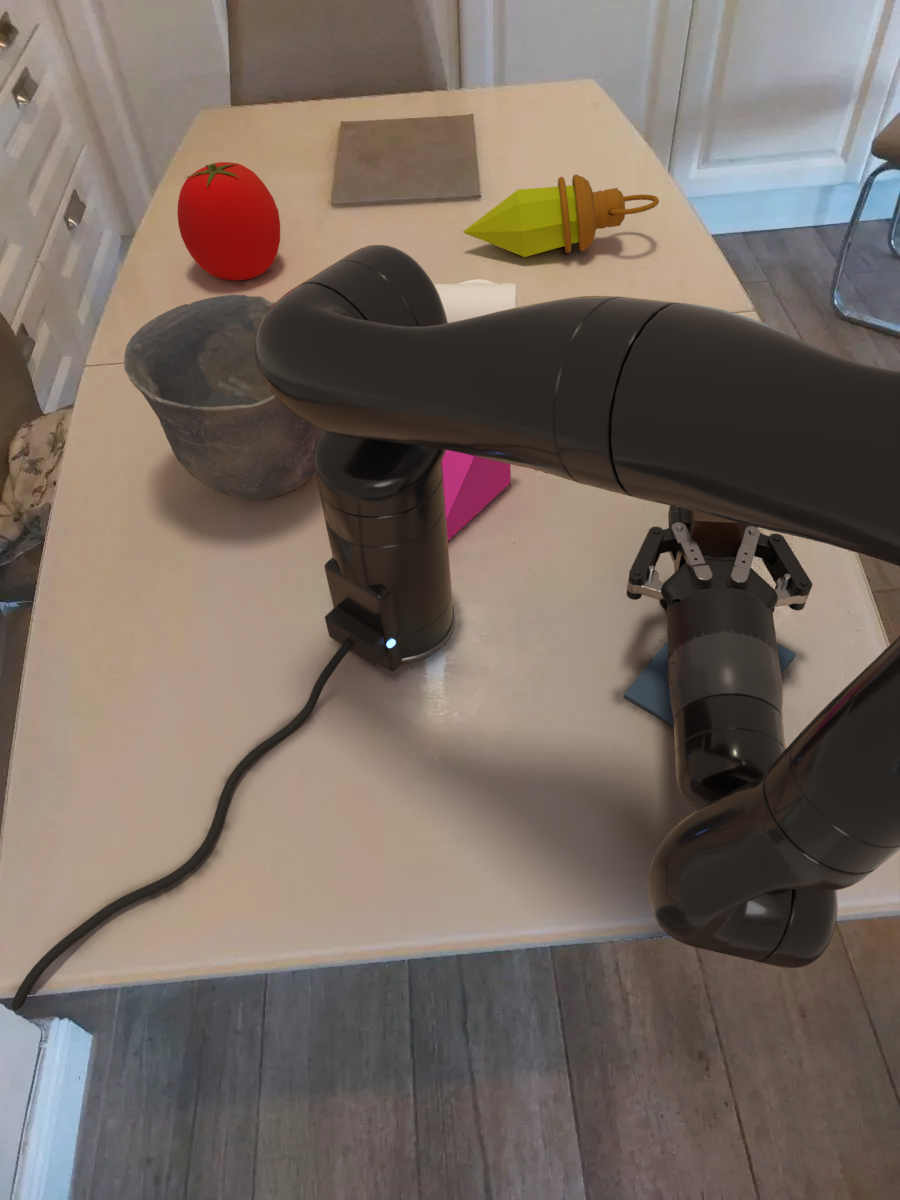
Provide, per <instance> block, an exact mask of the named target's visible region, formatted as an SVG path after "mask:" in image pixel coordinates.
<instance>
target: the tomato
mask: <svg viewBox="0 0 900 1200" xmlns="http://www.w3.org/2000/svg"><path fill="white" fill-rule="evenodd" d="M184 179H185V180H184V183H183V184H182V187H181V188H180V190H179V196H178V200H177V213H176V214H177V223H178V224H177V225H178V229H179V233H180V237H181V239H182V241H183V243H184V246H185V248H186V249H187V252H188V253H189V255H190V256H191V258H192V259H193V260H194V261H195V262H196V264H197V265H198V266H199V267H200V268H201V269H202V270H203V271H205V272H206V273H207V274H209V275H211V276H212V277H215V278H217V279H220V280H227V281H246V280H250V279H254V278H256V277H258V276H260V275H262V274H264V273H266V271H267V270H268V269H269V268H270V267H271V266H272V265H273V263H274V261H275V260H276V258H277V255H278V252H279V248H280V242H281V219H280V213H279V208H278V206H277V204H276V201H275V198H274V197H273V195H272V194H271V192H270V190H269V189H268V187H267V186H266V184H265V183H264V182H263V180H262V179H261V177H259V176H258V175H257V174H256V173H255V172H254V171H253V170H252V169H249V168H248V167H246V165H245V166H244V165H243V164H241V163H238V162H230V161H228V162H227V161H219V162H212V163H210V164H205V166H203V167H201V168H199V169H197V170H196V171H195V172H193V173H191V174H190V175H189V176H185V177H184Z"/></svg>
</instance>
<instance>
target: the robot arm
mask: <svg viewBox="0 0 900 1200" xmlns="http://www.w3.org/2000/svg"><path fill="white" fill-rule="evenodd" d="M434 284H435V283H434V282H433V280H432V278H431V277H430V275H428V273H427V272H426V271H425V269H424V268H423V267H422V266H421V265H420V264H419V262H417V261H416V260H415V259H414V258H413V257H412V256H410V255H409V254H407V253H406V252H404V251H402V250H401V249H398V248H396V247H393V246H390V245H385V244H372V245H366V246H363V247H360V248H358V249H356V250H355V251H352V252H351V253H349V254H347V255H346V256H344V257H343V258H341V259H339V260H338V261H336V262H334V263H332V264H330V265H329V266H327V267H326V268H324V269H323V270H321V271H319V272H318V273H316V274H314V275H313V276H311V277H310V278H308V279H306V280H305V281H303V282H302V283H300V284H298V285H296V286H295V287H293V288H291V289H290V290H289V291H287V292H286V293H285V294H284V295H283V296H281V297H280V298H279V299H278V300H276V302H274V303H275V304H274V305H273V306H272V307H271V308H270V309H269V310H268V312H267V313H266V314H265V315H264V317H263V319H262V320H261V322H260V325H259V328H258V331H257V333H256V340H255V355H256V362H257V366H258V369H259V371H260V374H261V376H262V378H263V380H264V382H265V384H266V385H267V386H268V388H269V389H270V391H271V392H272V393H273V395H274V396H275V397H276V398H277V399H278V400H279V401H280V402H281V403H282V404H283V405H284V406H285V407H286V408H287V409H289V410H290V411H291V412H292V413H293V414H295V415H296V416H297V417H299V418H300V419H302V420H304V421H305V422H307V423H308V424H310V425H312V426H314V427H317V428H319V429H321V430H322V431H321V433H320V434H319V436H318V438H317V441H316V443H315V447H314V452H313V465H314V471H315V473H314V476H315V481H316V484H317V485H316V486H317V489H318V494H319V497H320V502H321V507H322V511H323V517H324V523H325V528H326V531H327V537H328V540H329V546H330V550H331V556H332V557H331V558H330V559H329V560H328V561H327V562H325V564H324V572H325V576H326V580H327V581H326V582H327V584H328V589H329V594H330V598H331V599H330V600H331V603H332V607H333V609H331V610H330V611H329V612H328V613H327V614H326V615H325V616H324V620H325V623H326V628H327V632H328V637H329V638H331V639H332V640H334V641H335V642H337V643H338V644H340V647H339V648H338V649H337V651H336V652H335V654H333V656H332V657H331V658H330V660H329V662H328V663H327V664H326V666H325V667H324V669H323V670H322V671H321V673H320V675H319V676H318V678H317V679H316V681H315V683H314V685H313V688H312V690H311V692H310V695H309V697H308V700H307V702H306V703H305V705H304V707H302V709H301V710H300V711H299V712H298V714H297V715H295V717H294V718H293V719H292V720H291V721H290V722H289V723H288V724H286V725H285V726H284V727H283V728H281V729H280V730H279V731H277V732H276V733H274V734H273V735H272V736H270V737H268V738H267V739H266V740H264V741H263V742H261V743H259V744H258V745H257V746H256V747H254V748H253V749H252V750H250V751H249V753H247V755H245V756H244V757H243V759H241V761H240V762H238V764H237V765H236V767H234V769H233V770H232V772H231V773H230V775H229V777H228V779H227V780H226V781H225V784H224V786H223V788H222V791H221V794H220V796H219V799H218V803H217V804H216V805H217V806H216V809H215V812H214V816H213V818H212V822H211V825H210V828H209V830H208V833H207V835H206V836H205V838H204V840H203V842H202V843H201V845H200V846H199V848H198V849H197V850H196V851H195V853H194V854H193V855H192V856H191V857H190V858H189V859H188V860H186V862H185V863H183V864H182V865H181V866H179V867H178V868H177V869H176V870H174V871H172V872H171V873H169V874H167V875H166V876H164V877H162V878H160V879H158V880H156V881H154V882H151V883H149V884H146V885H145V886H142V887H140V888H138V889H136V890H135V889H134V890H133V891H131V892H129V893H127V894H125V895H123V896H121V897H119V898H118V899H116V900H114V901H112V902H111V903H109V904H107V905H105V906H104V907H103V908H101V909H100V910H99V911H97V912H96V913H95V914H93V915H92V916H90V917H89V918H88V919H87V920H85V921H84V922H83V923H81V924H80V925H79V926H77V927H75V929H73V930H72V931H71V932H70V933H68V934H67V935H66V936H65V937H63V938H62V939H61V940H59V941H58V942H57V944H55V945H54V946H53V947H51V948H50V949H49V950H48V951H47V952H46V953H45V954H44V955H42V957H41V958H40V959H39V960H38V961H37V962H36V964H35V965H34V966H33V967H32V968H31V969H30V971H29V972H28V974H27V975H26V976H25V978H24V979H23V981H22V982H21V984H20V986H19V988H18V989H17V991H16V993H15V995H14V997H13V1000H12V1003H11V1010H12V1011H18V1010H20V1009H21V1008H22V1007H23V1005H25V1002H26V999H27V998H28V996H29V994H30V993H31V990H32V989H33V987H34V986H35V984H36V982H37V981H38V980H39V978H40V977H41V976H42V975H43V974H44V972H45V971H46V970H48V968H49V967H50V966H51V965H52V964H53V963H54V962H55V961H56V960H57V959H58V958H59V957H60V956H62V954H64V953H65V952H66V951H67V950H68V949H70V948H71V947H72V946H73V945H74V944H76V943H77V942H78V941H79V940H81V939H82V938H83V937H84V936H86V935H87V934H88V933H89V932H91V931H93V930H94V929H95V928H96V927H98V926H99V925H100V924H102V923H103V922H104V921H106V920H107V919H108V918H110V917H111V916H112V915H114V914H117V912H119V911H121V910H123V909H124V908H126V907H129V906H130V905H132V904H134V903H136V902H138V901H140V900H143V899H145V898H147V897H149V896H152V895H154V894H156V893H158V892H161V891H163V890H165V889H166V888H168V887H170V886H172V885H174V884H175V883H178V882H179V881H180V880H183V878H185V877H186V876H187V875H188V874H190V873H191V872H192V871H193V870H194V869H196V867H197V866H198V865H200V864H201V862H203V860H204V859H205V858H206V856H207V855H208V854H209V852H210V851H211V849H212V848H213V846H214V844H215V843H216V840H217V838H218V836H219V834H220V831H221V829H222V826H223V823H224V820H225V816H226V812H227V809H228V806H229V802H230V799H231V796H232V794H233V791H234V789H235V787H236V785H237V783H238V781H239V780H240V779H241V777H242V776H243V774H244V773H245V771H246V770H247V769H248V768H249V767H250V766H251V765H252V764H253V763H254V762H255V761H256V760H257V759H258V758H259V757H261V756H262V755H263V754H265V753H266V752H267V751H269V750H270V749H272V748H273V747H274V746H276V745H277V744H279V743H280V742H281V741H283V740H284V739H286V738H287V737H289V736H290V735H291V734H292V733H293V732H295V731H296V730H297V729H298V728H299V727H300V726H301V725H302V724H303V723H304V722H305V721H306V720H307V718H308V717H309V716H310V715H311V714H312V712H313V711H314V709H315V707H316V705H317V703H318V701H319V699H320V697H321V693H322V692H323V689H324V687H325V685H326V684H327V682H328V681H329V679H330V677H331V676H332V674H333V673H334V672H335V670H336V669H337V667H338V666H339V665H340V663H341V662H342V661H343V659H344V658H345V657H346V655H347V654H348V653H349V651H351V652H352V653H353V654H355V655H356V656H357V657H359V658H361V659H362V660H364V661H365V662H367V663H368V664H370V665H371V666H373V667H377V666H378V665H380V666H381V667H383V668H384V669H386V670H388V671H389V672H395V671H396V670H397V669H398V668H399V667H401V666H403V665H406V664H413V663H416V662H420V661H423V660H424V659H427V658H428V657H431V656H432V655H434V654H436V653H437V652H438V651H439V650H440V649H442V648H443V647H444V646H445V645H446V643H447V642H448V640H449V639H450V638H451V636H452V633H453V630H454V627H455V622H456V621H455V618H456V617H455V609H454V604H453V592H452V580H451V568H450V567H451V565H450V554H449V552H450V551H449V541H448V538H447V524H446V511H445V496H444V482H443V465H442V459H443V457H444V454H445V452H446V450H449V451H454V452H458V453H463V454H467V455H471V456H476V457H480V458H485V459H489V460H494V461H498V462H503V463H508V464H511V466H517V467H521V468H525V469H531V470H534V471H538V472H541V473H545V474H549V475H552V476H555V477H559V478H561V479H565V480H569V481H571V482H575V483H577V484H582V485H585V486H588V487H592V488H596V489H600V490H601V489H602V490H605V491H608V492H612V493H616V494H620V495H624V496H627V497H631V498H635V499H638V500H642V501H646V502H647V501H648V502H652V503H657V504H661V505H667V506H669V507H668V508H669V509H668V514H667V522H668V527H667V528H662V527H660V526H652V527H650V528H649V529H648V532H647V534H646V535H645V538H644V540H643V542H642V544H641V546H640V549H639V551H638V553H637V555H636V557H635V559H634V561H633V563H632V566H631V567H630V569H629V571H628V578H627V585H626V586H627V587H626V594H625V595H626V597H628V598H629V599H631V600H632V601H633V600H634V601H636V600H639V599H641V598H642V596H646V597H647V598H648V597H649V598H652V599H655V600H658V601H659V604H660V606H661V608H662V610H663V611H664V613H665V614H666V631H667V633H666V634H667V641H668V665H669V671H668V674H667V681H668V687H669V694H670V702H671V708H672V712H673V717H674V726H673V732H674V734H673V735H674V758H675V778H676V785H677V788H678V791H679V793H680V795H681V797H682V798H683V799H684V800H685V802H687V803H688V804H689V805H690V806H692V808H694V809H696V810H695V811H693V812H692V813H690V814H689V815H688V816H687V815H686V817H685V818H683V819H682V820H681V821H680V822H678V823H677V824H676V825H675V826H674V827H672V829H671V830H670V831H669V832H668V833H667V834H666V835H665V837H664V838H663V839H662V841H661V842H660V844H659V846H658V847H657V849H656V851H655V853H654V855H653V857H652V859H651V863H650V866H649V870H648V874H647V881H646V882H647V883H646V891H647V899H648V904H649V908H650V911H651V913H652V915H653V917H654V919H655V921H656V923H657V924H658V925H659V927H660V928H661V929H662V930H663V931H664V932H665V933H666V934H667V935H668V936H670V937H671V938H672V939H674V940H676V941H678V942H679V943H682V944H683V945H687V946H689V947H692V948H697V949H700V950H705V951H709V952H714V953H718V954H723V955H727V956H732V957H736V958H739V959H745V960H750V961H754V962H757V963H761V964H765V965H770V966H773V967H777V968H785V969H786V968H787V969H798V968H803V967H806V966H809V965H811V964H813V963H814V962H815V961H816V960H818V959H820V957H821V956H823V955H824V952H825V951H826V950H827V948H828V947H829V945H830V943H831V941H832V939H833V935H834V933H835V930H836V925H837V920H838V911H839V909H838V907H839V906H838V905H839V904H838V902H839V901H838V892H837V891H839V890H843V889H847V888H850V887H853V886H854V885H856V884H857V883H859V882H861V881H863V880H864V879H866V878H867V877H869V876H870V875H871V874H872V873H874V872H875V871H876V870H878V868H880V867H881V866H882V865H884V864H885V863H886V862H887V861H888V860H889V859H891V858H892V857H894V856H895V855H896V854H898V852H900V635H898V636H897V637H896V638H895V640H893V642H891V643H890V644H889V645H888V646H887V647H886V648H885V649H884V650H883V651H882V652H881V653H880V654H879V655H878V656H877V657H876V658H875V659H874V660H873V661H872V662H871V663H869V664H868V665H867V666H866V667H865V668H864V669H863V670H862V671H861V672H860V673H859V674H858V675H857V676H856V677H855V678H854V679H853V680H852V681H851V682H850V683H848V685H846V686H845V687H844V688H843V689H842V690H841V691H839V693H838V694H837V695H836V696H835V697H834V698H833V699H832V700H831V701H830V702H829V703H827V705H825V706H824V708H823V709H822V710H821V711H819V713H818V714H817V715H816V716H815V717H814V718H813V719H812V720H810V722H809V723H808V724H807V725H806V726H805V727H804V728H803V729H802V730H801V732H800V733H799V734H798V735H797V736H796V737H795V738H794V739H793V740H792V741H791V743H789V745H788V746H787V745H786V739H785V731H784V722H783V703H784V693H783V692H784V691H783V682H782V675H781V673H780V665H779V657H778V649H777V635H776V634H777V633H776V628H775V619H774V612H775V609H776V608H779V607H784V606H788V607H789V608H790V609H791V610H793V611H802V610H803V609H804V608H805V606H806V605H807V604H806V603H807V601H808V598H809V595H810V593H811V590H812V587H813V582H812V580H811V579H810V577H809V576H808V574H807V572H806V571H805V568H804V567H803V566H802V564H801V562H800V561H799V559H798V557H797V556H796V555H795V553H794V551H793V550H792V548H791V546H790V545H789V543H788V542H787V540H786V538H785V536H783V535H782V534H784V535H788V536H794V537H798V538H802V539H806V540H810V541H813V542H814V541H815V542H819V543H822V544H827V545H829V546H833V547H836V548H840V549H843V550H846V551H850V552H853V553H856V554H859V555H861V556H865V557H867V558H871V559H872V560H873V559H874V560H877V561H880V562H882V563H885V564H888V565H891V566H893V567H896V568H899V569H900V370H898V369H897V370H896V369H890V368H885V367H881V366H875V365H872V364H865V363H863V362H859V361H856V360H852V359H850V358H847V357H843V356H841V355H837V354H835V353H833V352H830V351H828V350H826V349H824V348H821V347H819V346H816V345H815V344H812V343H810V342H807V341H805V340H803V339H802V338H800V337H797V336H794V335H792V334H790V333H787V332H786V331H783V330H781V329H779V328H777V327H774V326H772V325H769V324H767V323H765V322H761V321H759V320H757V319H754V318H751V317H748V316H745V315H742V314H739V313H735V312H732V311H728V310H724V309H721V308H716V307H711V306H706V305H705V306H704V305H700V304H694V303H686V302H677V301H668V300H667V301H666V300H659V299H649V298H639V297H628V296H614V295H610V296H609V295H584V296H575V297H568V298H561V299H555V300H548V301H543V302H538V303H532V304H526V305H522V306H517V307H516V308H512V309H508V310H503V311H499V312H495V313H490V314H486V315H482V316H478V317H474V318H470V319H465V320H460V321H456V322H451V323H448V321H447V317H446V313H445V310H444V307H443V304H442V301H441V299H440V296H439V294H438V292H437V290H436V288H435V286H434ZM689 510H693V511H697V512H701V513H705V514H709V515H713V516H716V517H720V518H724V519H727V520H731V521H735V522H739V523H742V524H746V525H747V526H746V530H745V534H744V537H743V539H742V540H741V543H740V546H739V550H738V553H737V556H736V557H721V558H716V557H711V556H707V555H702V553H701V551H700V548H699V546H698V544H697V542H696V541H695V540H694V541H693V539H692V537H691V536H690V533H689V530H688V527H689ZM760 529H762V530H763V529H764V530H768V531H771V532H776V533H771V534H769V535H768V534H764V533H762V532H761V530H760ZM780 533H781V534H780ZM665 553H669V556H670V558H671V561H672V563H673V569H674V573H673V574H672V575H671V576H669V577H668V579H666V580H665V582H664V583H663V582H661V581H660V580H659V572H658V571H657V569H656V566H657V563H658V561H659V560H660V557H661V554H665ZM754 557H755V558H759V559H761V560H762V563H763V565H764V566H765V568H766V569H767V572H769V575H770V576H771V578H772V580H773V582H774V584H775V586H774V588H773V586H771V585H770V584H769V583H768V582H767V581H766V580H765V579H764V578H763V577H761V575H759V574H758V572H756V571H755V570H754V569H753V568H752V564H753V560H754Z"/></svg>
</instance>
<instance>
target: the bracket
mask: <svg viewBox="0 0 900 1200" xmlns="http://www.w3.org/2000/svg"><path fill="white" fill-rule="evenodd" d="M442 465H443V482H444V496H445V511H446V524H447V538H448V542H449V541H450V540H451V539H452V538H453V537H454V536H456V534H457V533H459V531H461V530H462V529H463V528H464V527H465V526H466V525H467V524H468V523H469V522H470V521H471V520H473V519H474V517H476V516H477V515H478V514H479V513H480V512H481V511H482V510H483V509H484V508H485V507H486V506H488V505H489V504H491V502H492V501H493V500H494V499H495V498H496V497H497V496H498V495H500V493H501V492H503V490H505V489H506V488H507V487H508V486H509V485H510V484H511V479H512V477H511V476H512V475H511V473H512V472H511V471H512V470H511V469H512V467H511V466H512V464H508V463H503V462H498V461H494V460H489V459H485V458H480V457H476V456H471V455H467V454H463V453H458V452H454V451H449V450H446V452H445V454H444V457H443V459H442Z"/></svg>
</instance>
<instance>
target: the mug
mask: <svg viewBox="0 0 900 1200" xmlns="http://www.w3.org/2000/svg"><path fill="white" fill-rule="evenodd" d="M433 284H434V286H435V288H436V290H437V292H438V294H439V296H440V299H441V301H442V304H443V307H444V310H445V313H446V317H447V321H448V323H451V322H456V321H460V320H465V319H470V318H474V317H478V316H482V315H486V314H490V313H495V312H499V311H503V310H508V309H512V308H516V307H518V285H517V283H514V282H513V283H497V282H495V281H492V280H489V279H482V278H479V279H478V278H475V279H468V280H464V281H461V282H458V283H433Z"/></svg>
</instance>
